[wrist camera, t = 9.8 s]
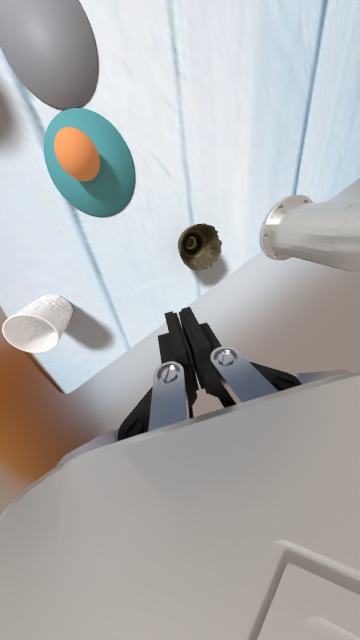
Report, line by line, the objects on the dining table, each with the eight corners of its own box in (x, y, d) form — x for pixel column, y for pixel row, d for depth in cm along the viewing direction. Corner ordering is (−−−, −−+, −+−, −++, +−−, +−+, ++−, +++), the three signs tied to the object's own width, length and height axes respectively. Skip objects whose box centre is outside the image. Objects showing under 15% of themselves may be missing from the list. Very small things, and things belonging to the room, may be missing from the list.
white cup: (46, 327, 39) (21, 357, 31) (25, 295, 35) (-11, 320, 27) (82, 319, 40) (67, 347, 32) (65, 287, 36) (43, 309, 28)
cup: (211, 251, 38) (226, 259, 31) (181, 266, 39) (189, 277, 32) (199, 215, 34) (214, 215, 27) (166, 232, 34) (172, 236, 28)
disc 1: (70, -50, 19) (70, -52, 19) (110, 102, 25) (110, 101, 25) (-37, -39, 18) (-38, -41, 18) (31, 115, 24) (30, 115, 24)
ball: (109, 179, 26) (105, 168, 29) (84, 123, 21) (83, 117, 24) (73, 192, 26) (73, 180, 29) (40, 139, 21) (45, 131, 24)
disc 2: (117, 101, 25) (117, 100, 25) (144, 208, 32) (144, 208, 32) (23, 117, 24) (23, 116, 24) (72, 223, 31) (72, 223, 31)
